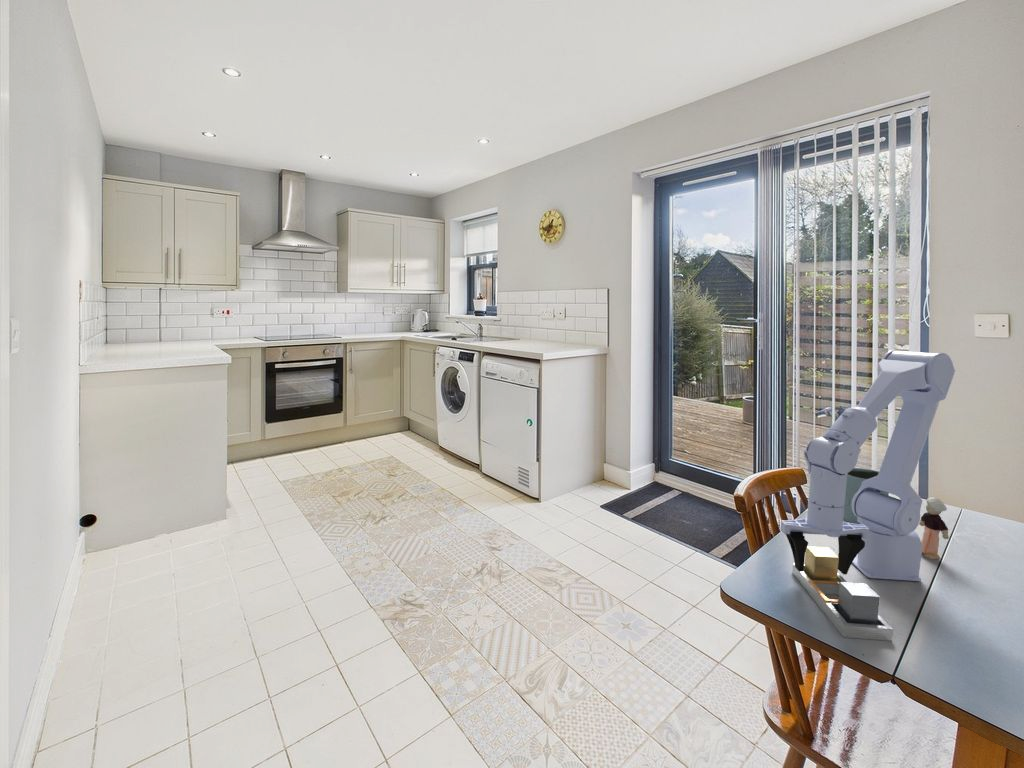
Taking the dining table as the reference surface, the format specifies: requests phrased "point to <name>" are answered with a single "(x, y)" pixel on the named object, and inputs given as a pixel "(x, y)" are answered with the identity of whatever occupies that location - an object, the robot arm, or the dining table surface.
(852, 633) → the zinc tray
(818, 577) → the golden block
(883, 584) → the dining table surface
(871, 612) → the gunmetal nut block
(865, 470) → the green pot
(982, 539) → the dining table surface
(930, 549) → the grandmother figurine
